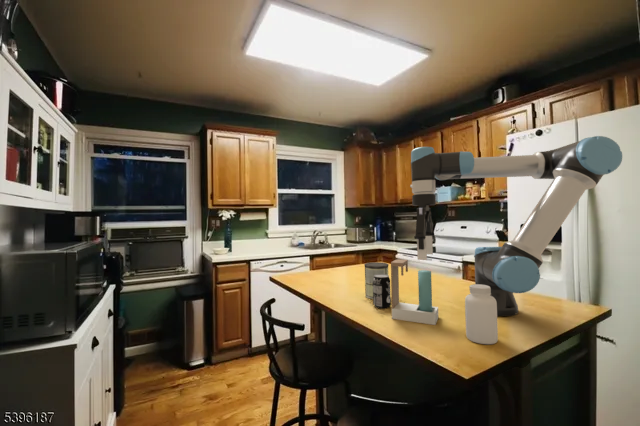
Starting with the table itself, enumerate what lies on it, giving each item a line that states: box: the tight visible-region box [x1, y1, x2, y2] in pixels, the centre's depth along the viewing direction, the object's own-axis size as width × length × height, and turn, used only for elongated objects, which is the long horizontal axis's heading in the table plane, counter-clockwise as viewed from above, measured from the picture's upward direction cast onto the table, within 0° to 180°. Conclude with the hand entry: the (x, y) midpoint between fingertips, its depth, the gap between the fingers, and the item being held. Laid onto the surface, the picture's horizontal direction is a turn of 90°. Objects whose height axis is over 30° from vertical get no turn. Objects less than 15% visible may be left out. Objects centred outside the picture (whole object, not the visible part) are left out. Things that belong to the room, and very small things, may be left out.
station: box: [390, 258, 439, 326], centre depth 104 cm, size 14×8×19 cm, turn 62°
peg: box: [417, 269, 433, 312], centre depth 102 cm, size 4×4×16 cm
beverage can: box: [372, 274, 392, 310], centre depth 117 cm, size 7×7×12 cm
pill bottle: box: [464, 283, 499, 345], centre depth 86 cm, size 8×8×15 cm
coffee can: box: [364, 261, 389, 300], centre depth 132 cm, size 10×10×14 cm
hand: (425, 256), depth 102 cm, fingers open, 13 cm apart
